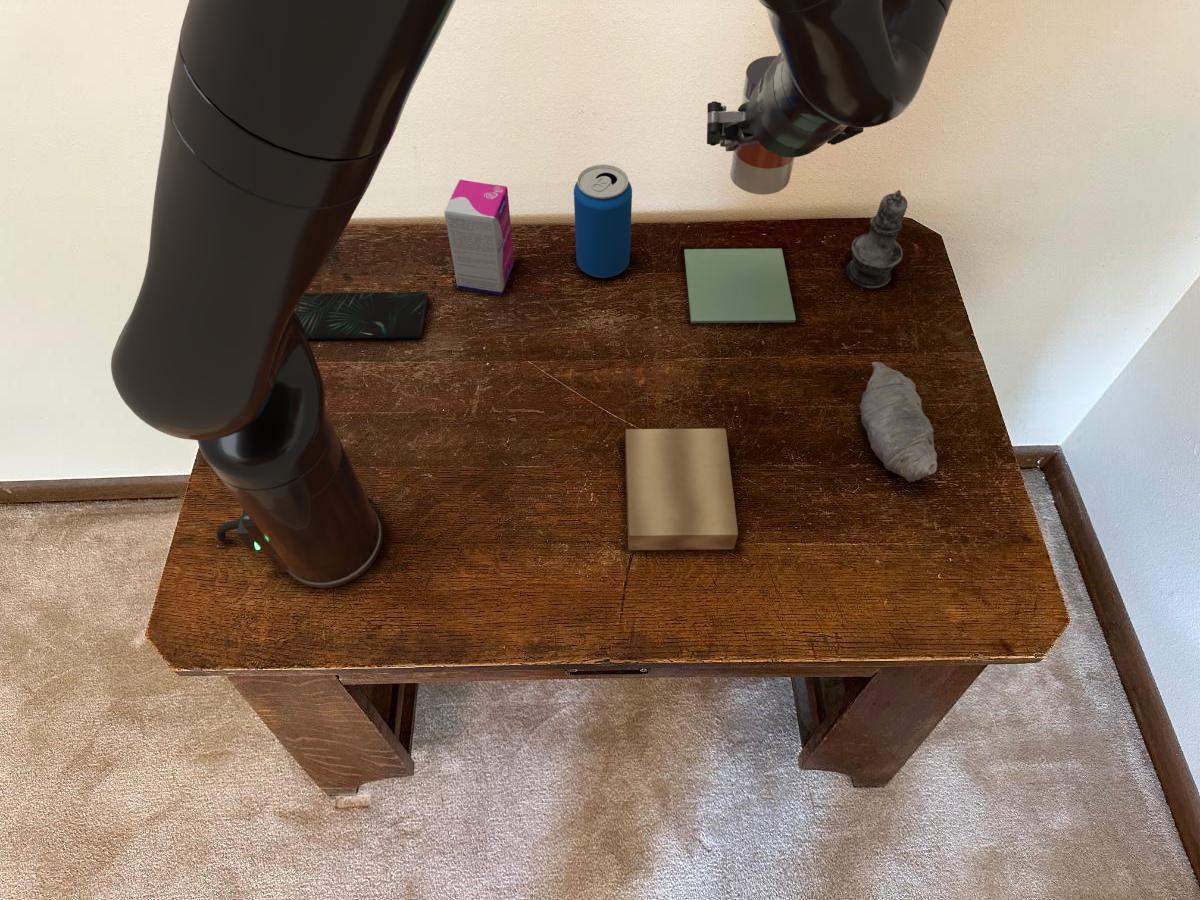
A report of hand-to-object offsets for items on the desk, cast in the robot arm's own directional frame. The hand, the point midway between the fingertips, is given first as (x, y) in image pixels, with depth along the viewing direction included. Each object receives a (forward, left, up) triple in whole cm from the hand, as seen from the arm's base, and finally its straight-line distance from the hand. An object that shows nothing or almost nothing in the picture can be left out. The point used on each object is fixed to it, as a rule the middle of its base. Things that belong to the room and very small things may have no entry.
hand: (763, 140), depth 79 cm
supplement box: (-30, +2, -20) cm, 36 cm away
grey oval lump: (+13, -22, -20) cm, 32 cm away
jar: (0, +1, +2) cm, 3 cm away
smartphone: (-44, -5, -20) cm, 48 cm away
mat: (0, 0, -20) cm, 20 cm away
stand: (-9, -29, -20) cm, 36 cm away
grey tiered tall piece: (+16, +2, -20) cm, 26 cm away
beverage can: (-16, +4, -20) cm, 26 cm away
